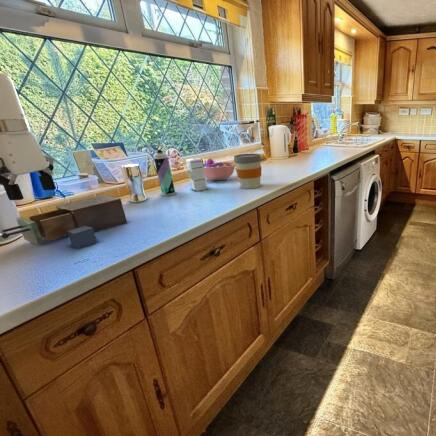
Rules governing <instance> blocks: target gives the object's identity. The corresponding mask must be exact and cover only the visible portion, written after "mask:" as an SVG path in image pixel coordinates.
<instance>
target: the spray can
mask: <svg viewBox="0 0 436 436" xmlns="http://www.w3.org/2000/svg"><path fill="white" fill-rule="evenodd" d="M153 161H154V165H155V169H156V174H157V178H158V182H159V187H160V192H161V195H162V196H164V197H165V196H166V197H167V196H168V197H169V196H173V195H176V190H175V184H174V180H173V179H174V178H173V175H172V170H171V166H170V165H171V164H170V161H169V157H168V154H166V153H164V152H163V150H162V149H157V150H156V152H155V154H154V155H153Z"/></svg>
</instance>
